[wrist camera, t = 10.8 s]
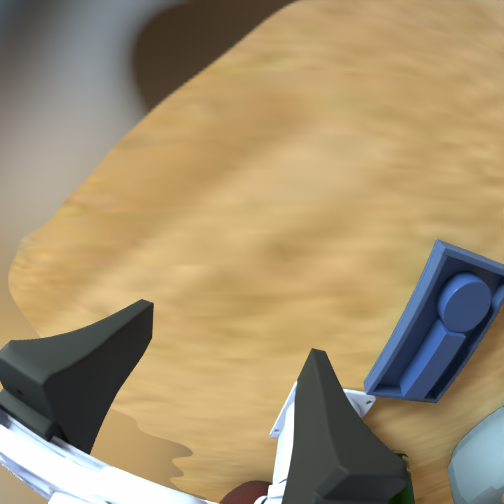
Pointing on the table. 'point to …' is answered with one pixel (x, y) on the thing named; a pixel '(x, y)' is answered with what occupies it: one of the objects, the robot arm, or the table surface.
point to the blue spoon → (446, 331)
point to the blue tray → (423, 317)
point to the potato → (247, 493)
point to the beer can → (405, 498)
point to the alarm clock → (480, 463)
